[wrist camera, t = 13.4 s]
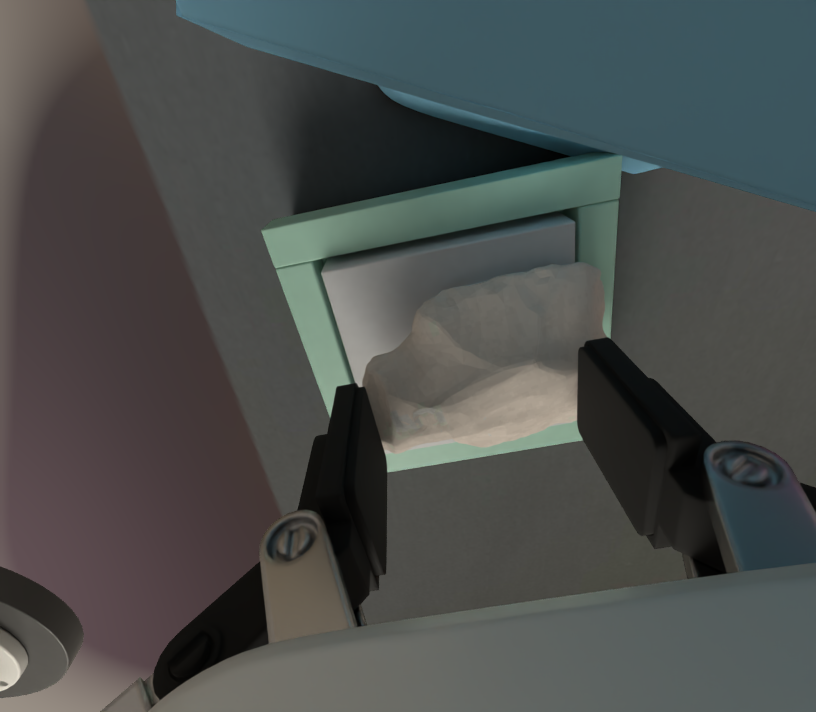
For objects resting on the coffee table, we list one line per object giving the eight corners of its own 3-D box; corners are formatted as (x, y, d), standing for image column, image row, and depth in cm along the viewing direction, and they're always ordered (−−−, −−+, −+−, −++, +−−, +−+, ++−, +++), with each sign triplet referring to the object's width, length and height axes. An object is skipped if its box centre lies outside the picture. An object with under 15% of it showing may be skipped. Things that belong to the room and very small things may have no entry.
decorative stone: (380, 434, 16) (379, 498, 13) (336, 295, 13) (323, 342, 10) (614, 390, 15) (660, 448, 13) (622, 234, 12) (684, 268, 10)
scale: (357, 432, 20) (351, 479, 18) (282, 209, 15) (260, 230, 12) (576, 393, 19) (605, 437, 17) (580, 146, 14) (623, 153, 12)
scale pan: (378, 430, 18) (377, 456, 16) (327, 256, 14) (320, 272, 13) (559, 398, 17) (573, 423, 16) (557, 210, 13) (576, 220, 12)
